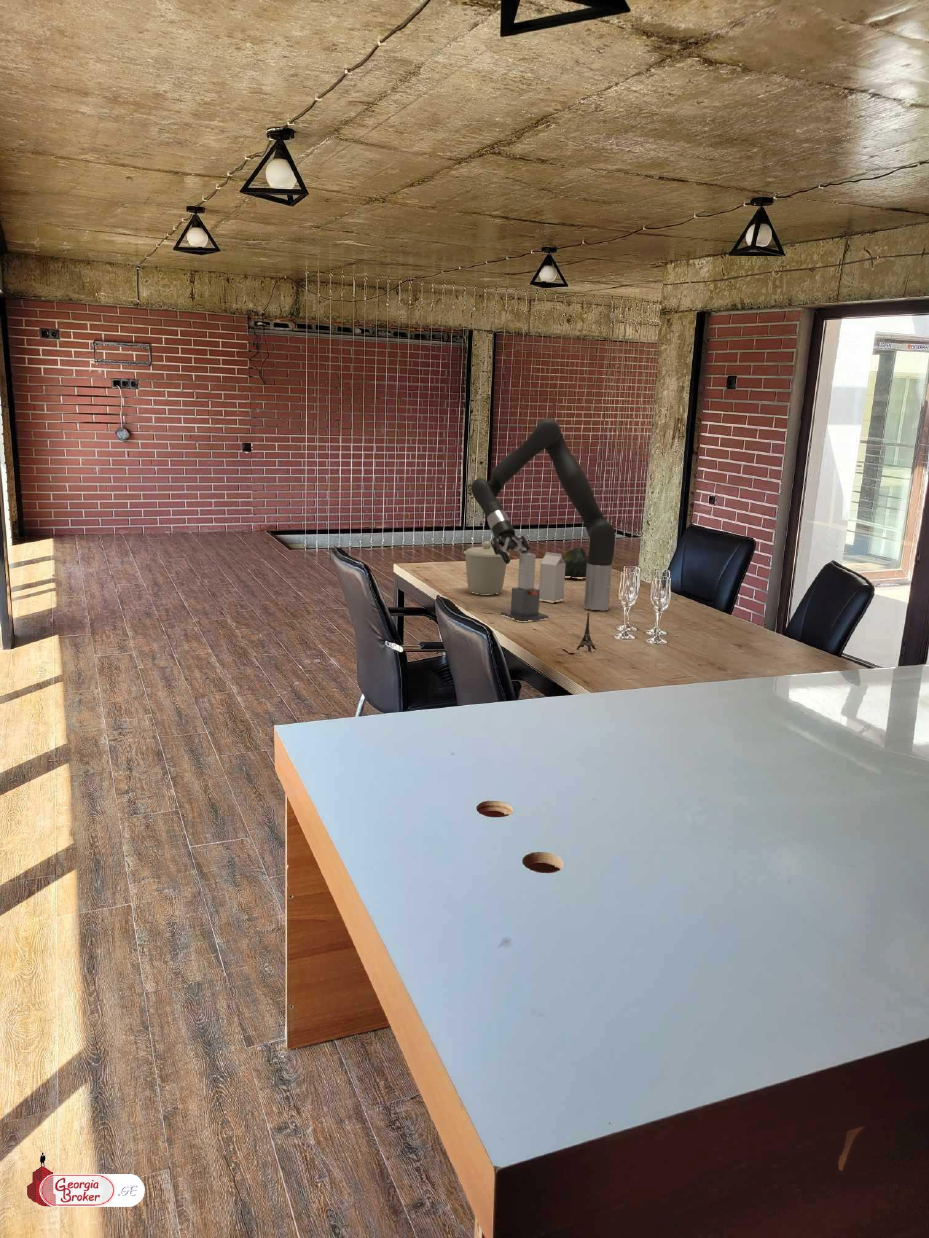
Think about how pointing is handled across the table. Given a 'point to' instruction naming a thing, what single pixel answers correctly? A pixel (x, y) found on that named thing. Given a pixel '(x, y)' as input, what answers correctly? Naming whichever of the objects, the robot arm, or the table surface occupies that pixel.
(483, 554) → the canister
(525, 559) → the column
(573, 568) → the squash
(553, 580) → the milk carton
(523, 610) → the jack stand base
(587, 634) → the eiffel tower figurine
